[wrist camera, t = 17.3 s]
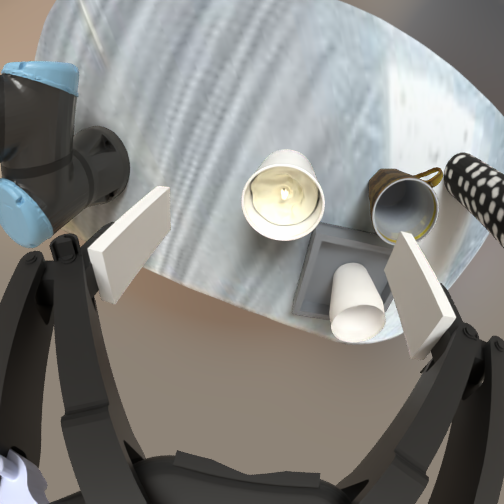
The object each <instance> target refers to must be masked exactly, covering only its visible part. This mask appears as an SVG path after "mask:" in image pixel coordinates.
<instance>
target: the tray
mask: <svg viewBox="0 0 504 504" xmlns="http://www.w3.org/2000/svg"><path fill="white" fill-rule="evenodd" d="M393 248H394V245H391V244H388V243H386V242H385V241H383V240H382V239H381V238H380V237H379V236H378V235H377V234H372V233H368V232H364V231H359V230H355V229H350V228H345V227H341V226H336V225H331V224H326V223H322V222H319V224H318V225H317V226H316V228H315V229H314V230H313V231H312V235H311V239H310V243H309V246H308V250H307V254H306V257H305V261H304V265H303V268H302V272H301V275H300V279H299V282H298V286H297V289H296V292H295V296H294V299H293V312H292V314H296V315H302V316H308V317H314V318H320V319H326V320H330V316H329V311H330V302H331V293H332V284H333V276H334V273H335V271H336V270H337V269H338V268H339V267H340V266H342V265H344V264H347V263H358V264H361V265H362V266H364V267H365V268H366V270H367V272H368V274H369V276H370V277H371V279H372V281H373V283H374V285H375V287H376V289H377V291H378V293H379V295H380V297H381V299H382V302H383V305H384V312H386V311H387V309H388V307H389V305H390V303H391V302H392V300H393V295H392V292H391V289H390V286H389V283H388V280H387V277H386V274H385V271H384V269H385V267H386V264H387V262H388V260H389V258H390V255H391V253H392V251H393Z"/></svg>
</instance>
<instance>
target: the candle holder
mask: <svg viewBox="0 0 504 504" xmlns="http://www.w3.org/2000/svg"><path fill="white" fill-rule="evenodd" d="M241 205H242V210H243V213H244V216H245V218H246V220H247V221H248V223H249V224H250V225H251V227H252V228H253V229H254V230H256V231H257V232H258V233H260V234H261V235H263V236H265V237H267V238H270V239H274V240H279V241H290V240H295V239H299V238H301V237H303V236H305V235H307V234H309V233H310V232H311V231H312V230H314V229H315V228H316V226H317V225H318V224H319V222H320V220H321V218H322V216H323V213H324V208H325V199H324V194H323V191H322V188H321V186H320V185H319V182H318V180H317V177H316V174H315V172H314V169H313V167H312V165H311V163H310V162H309V160H308V159H307V158H306V157H305V156H304V155H303V154H301V153H299V152H297V151H294V150H289V149H283V150H278V151H275V152H273V153H272V154H270V155H269V156H268V157H267V158H266V159H265V160H264V161H263V162H262V164H261V165H260V166H259V167H258V169H257V170H256V171H255V173H254V174H253V175H252V176H251V177H250V178H249V180H248V181H247V183H246V184H245V186H244V189H243V192H242V197H241Z"/></svg>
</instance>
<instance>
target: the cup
mask: <svg viewBox="0 0 504 504" xmlns="http://www.w3.org/2000/svg"><path fill="white" fill-rule="evenodd" d="M329 316H330V322H331V329H332V332H333V334H334V335H335V337H337V338H338V339H340V340H342V341H345V342H352V343H355V342H362V341H366V340H369V339H371V338H373V337H375V336H376V335H377V334H379V333H380V332H381V330H382V329H383V327H384V325H385V322H386V317H385V312H384V305H383V302H382V299H381V297H380V295H379V293H378V291H377V289H376V287H375V285H374V283H373V281H372V279H371V277H370V276H369V274H368V272H367V270H366V268H365V267H364V266H362V265H361V264H358V263H347V264H344V265H342V266H340V267H339V268H338V269H337V270H336V271H335V273H334V276H333V284H332V293H331V302H330V311H329Z"/></svg>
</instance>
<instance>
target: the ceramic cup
mask: <svg viewBox="0 0 504 504" xmlns="http://www.w3.org/2000/svg"><path fill="white" fill-rule="evenodd" d="M437 171H439V172H438V174H437V175H435V176H434V177H433V178H431V179H429V180H428V181H424V180H421V179H420V178H421V177H424V176H427V175H430V174H432V173H434V172H437ZM442 178H443V172H442V170H441V169H440V168H438V167H436V168H432V169H430V170H428V171H426V172H423V173H420V174H417V175H414V176H412V175H410V174H407V173H404V172H401V171H399V170H397V169H380V170H379V171H378V172H377V173H376V174H375V175H374V176H373V177H372V178H371V179H370V180H369V200H370V212H371V220H372V224H373V227H374V229H375V231H376V233H377V234H378V236H379V237H380V238H381V239H382V240H383V241H385V242H386V243H388V244H391V245H394V246H395V243H396V241H397V239H398V236H399V234H400V231H402V232H406V233H410V234H412V235H413V237H414V239H415V240H416V242H419V241H421V240H422V239H424V238H425V237H426V236H427V235H428V234H429V233H430V232H431V230H432V229H433V227H434V226H435V223H436V221H437V218H438V214H439V203H438V199H437V196H436V193H435V192H434V190H433V189H432V188H433V187H435V186H436V185H438V184H439V183H440V181H441V180H442Z"/></svg>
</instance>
